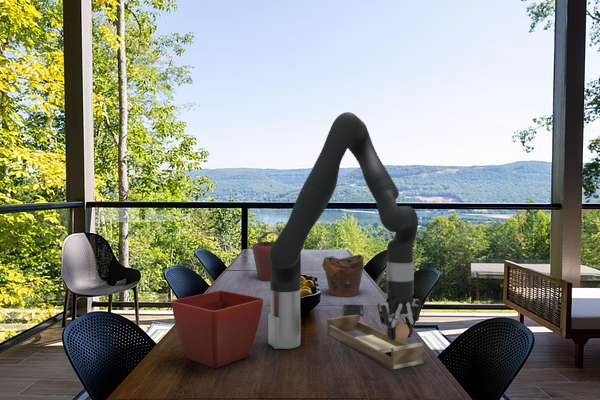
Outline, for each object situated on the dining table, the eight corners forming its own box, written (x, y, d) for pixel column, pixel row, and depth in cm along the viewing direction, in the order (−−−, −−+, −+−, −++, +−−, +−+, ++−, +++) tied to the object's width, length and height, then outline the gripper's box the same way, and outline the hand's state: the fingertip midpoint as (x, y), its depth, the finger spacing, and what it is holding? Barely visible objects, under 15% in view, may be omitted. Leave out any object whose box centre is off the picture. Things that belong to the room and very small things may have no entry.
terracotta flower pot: (313, 293, 219) (314, 254, 218) (343, 287, 232) (344, 250, 232) (341, 301, 206) (342, 259, 205) (372, 294, 219) (372, 255, 218)
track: (391, 370, 128) (391, 348, 128) (327, 333, 160) (327, 315, 160) (426, 363, 133) (426, 341, 133) (358, 329, 165) (358, 311, 165)
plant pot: (221, 342, 151) (220, 289, 151) (265, 356, 139) (265, 298, 138) (169, 359, 136) (169, 300, 136) (214, 376, 124) (213, 311, 124)
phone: (363, 304, 196) (363, 314, 181) (363, 307, 196) (363, 317, 181) (343, 304, 196) (342, 313, 182) (343, 307, 196) (342, 316, 182)
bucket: (248, 276, 262) (247, 230, 261) (285, 273, 271) (285, 229, 270) (264, 284, 240) (263, 234, 239) (303, 280, 249) (303, 232, 248)
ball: (387, 338, 135) (387, 320, 135) (401, 335, 138) (401, 318, 137) (398, 343, 131) (398, 325, 131) (413, 340, 133) (413, 322, 133)
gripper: (411, 273, 140) (411, 331, 141) (370, 277, 134) (370, 338, 135) (429, 277, 133) (429, 338, 134) (386, 282, 127) (386, 346, 128)
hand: (399, 337), depth 134 cm, fingers closed on ball, 5 cm apart
